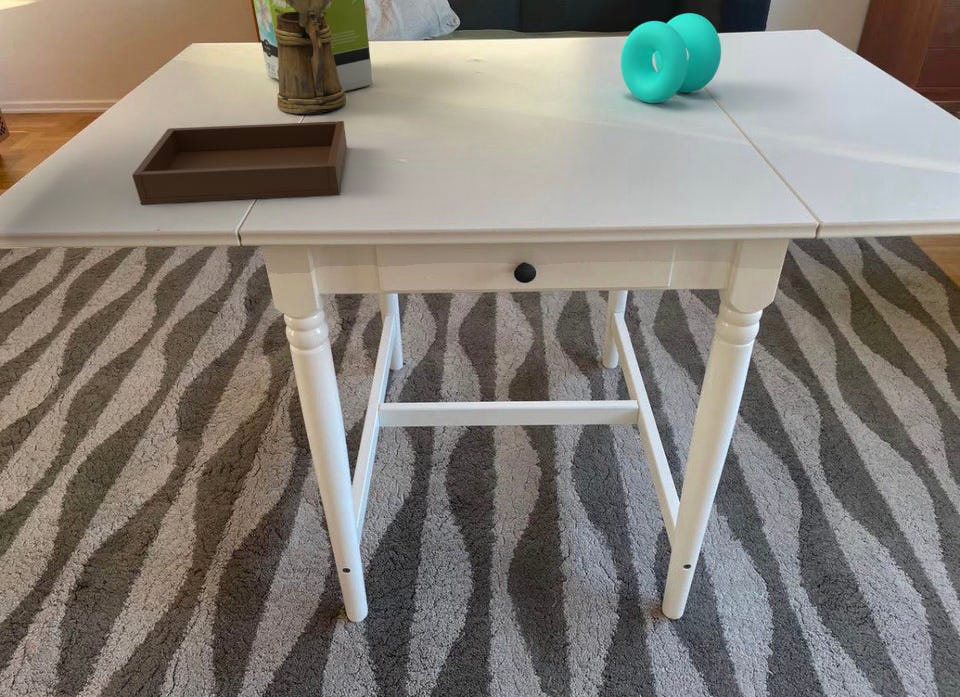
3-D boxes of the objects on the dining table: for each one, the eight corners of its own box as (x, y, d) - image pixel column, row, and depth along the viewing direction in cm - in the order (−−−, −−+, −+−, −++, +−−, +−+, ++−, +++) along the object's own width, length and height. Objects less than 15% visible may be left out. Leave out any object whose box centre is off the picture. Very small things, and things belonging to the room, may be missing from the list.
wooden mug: (297, 129, 89) (270, -35, 79) (271, 101, 99) (245, -48, 89) (365, 118, 93) (348, -41, 82) (334, 92, 103) (315, -53, 92)
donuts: (718, 97, 98) (732, 17, 92) (671, 113, 93) (683, 29, 87) (659, 82, 104) (669, 6, 99) (612, 95, 99) (620, 17, 93)
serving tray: (140, 204, 72) (131, 174, 70) (175, 154, 83) (167, 128, 81) (339, 194, 73) (335, 165, 72) (347, 147, 84) (343, 120, 83)
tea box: (264, 77, 109) (244, -33, 100) (324, 66, 114) (309, -40, 105) (313, 99, 99) (295, -21, 91) (375, 85, 104) (364, -30, 96)
